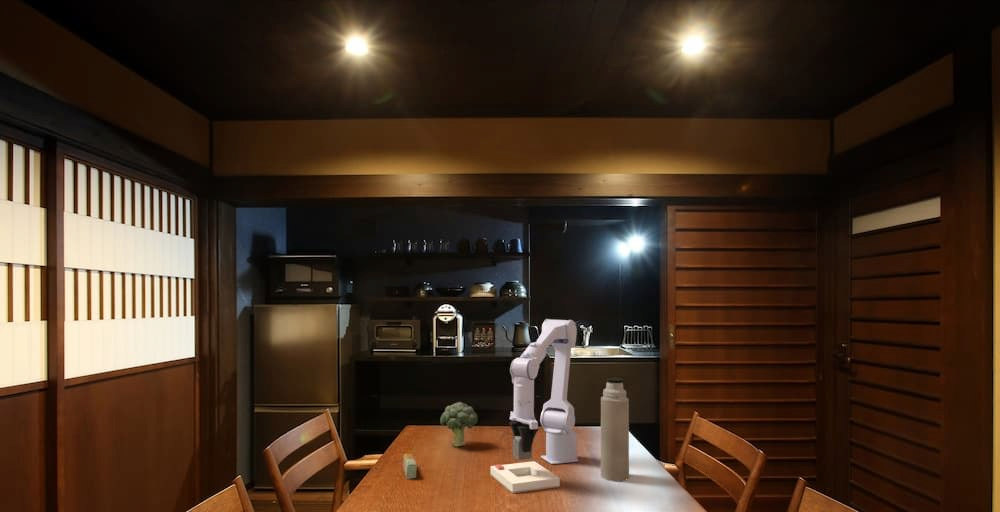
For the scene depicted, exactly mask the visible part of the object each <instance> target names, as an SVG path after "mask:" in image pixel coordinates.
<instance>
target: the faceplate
mask: <svg viewBox="0 0 1000 512" xmlns="http://www.w3.org/2000/svg"><path fill="white" fill-rule="evenodd" d="M489 474H490V476H491V477H493V478H494V479H495V481H498V482H499V483H500V484H501V485H502V486H503V487H504V488H506V489H507V490H508V491H510V493H512V494H517V493H525V492H532V491H539V490H546V489H553V488H560V485H561V484H560V483H561V482H560V477H559V476H557V475H556V474H555V473H553V472H551V471H550V470H548V469H547V468H546V467H544V466H542V465H540V464H539V463H538V462H536V461H535V460H533V461H525V462H517V463H516V462H515V463H507V464H500V463H499V464H498V463H497V464H494V465H490V473H489Z"/></svg>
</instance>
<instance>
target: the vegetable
mask: <svg viewBox="0 0 1000 512" xmlns="http://www.w3.org/2000/svg"><path fill="white" fill-rule="evenodd" d="M478 419H479V418H478V415H477V412H475V410H474V408H473V407H472V406H469V405H467V404H466V403H464V402H461V401H458V402H456V403H455V402H454V403H453V404H451V405H447V406H446V407H445V409H444V412H443V413H442V414H441V415H440V419H439V420H440V421H439V422H440V425H441V426H445V425H447V428H448V429H449V430H451V431H452V432H453V434H454V435H453V443H452V445H453V447H461V446H465V445H466V442H465V432H464V431H465V428H466V427H467V428H468V429H472V428H473V426H475V424H477V423H478Z"/></svg>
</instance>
